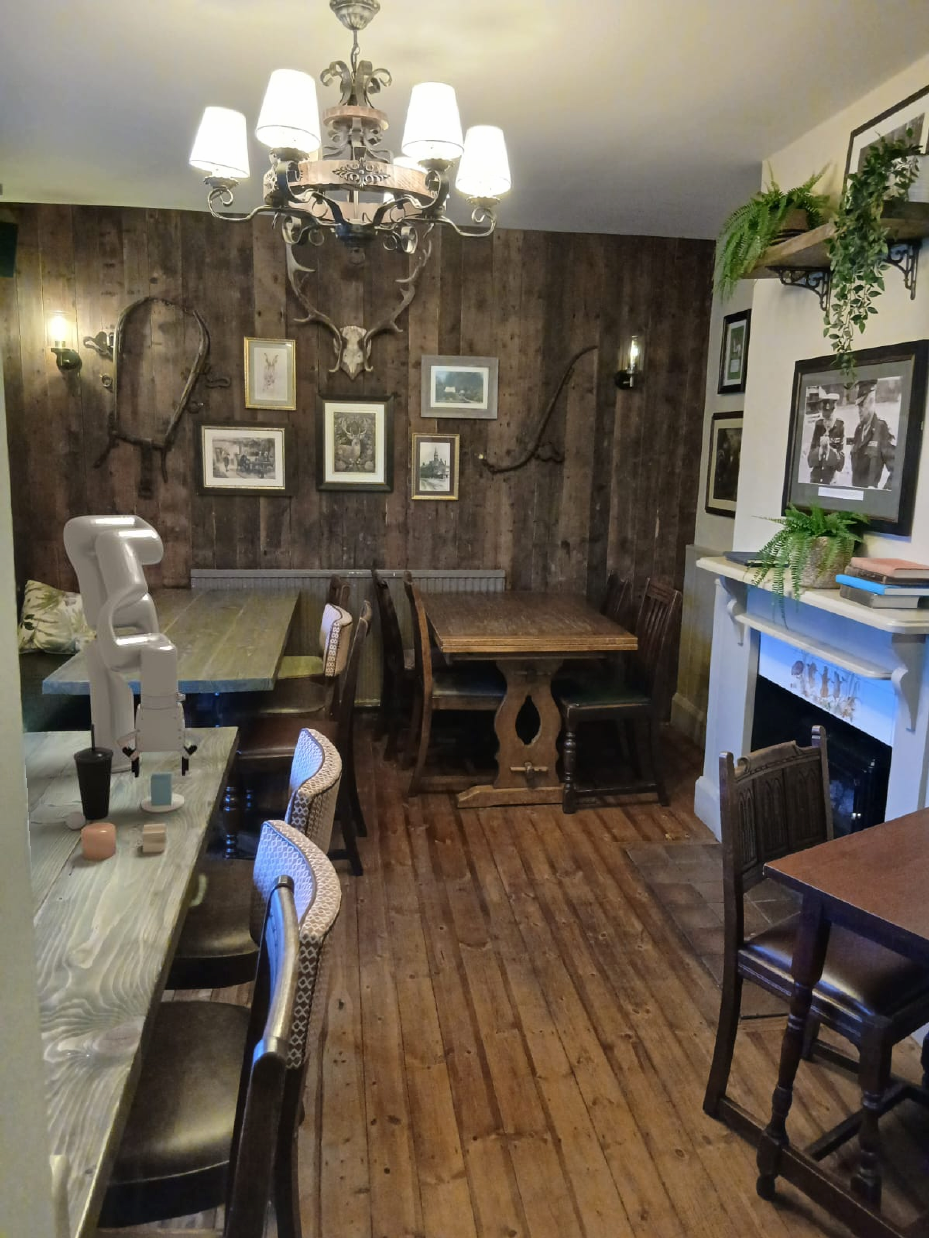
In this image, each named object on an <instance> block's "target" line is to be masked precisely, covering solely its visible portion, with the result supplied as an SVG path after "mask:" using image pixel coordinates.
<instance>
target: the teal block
mask: <svg viewBox="0 0 929 1238" xmlns="http://www.w3.org/2000/svg"><path fill="white" fill-rule="evenodd" d="M172 773H173V772H172V771H165V772H163V771H162V772H152V773H151V777H150V796H151V806H163V805H171V802H172V793H173V780H172V778H173V775H172Z"/></svg>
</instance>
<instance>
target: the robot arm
mask: <svg viewBox="0 0 929 1238" xmlns="http://www.w3.org/2000/svg"><path fill="white" fill-rule="evenodd" d="M63 544H64V548H65V549H64V550H65V551H66V554H67V557H68V559H69V561H70V563H71V565H72V567H73V569H74V571H75V573H76V576H77V580H78V588H79V593H80V598H81V604H82V610H83V615H84V620H85V623H86V625H87V627H88V629H90V630H91V631H94V632H96V638H94V639H92V640H90V641H89V642H88V643H87V644H86V646H85V647H84V651H83V655H84V656H83V657H84V662H85V668H86V672H87V677H88V682H89V683H88V685H89V696H90V698H89V699H90V711H91V713H90V714H91V724H94V734H95V747H103V748H107V749H110V750H112V751H113V753H114V755H113V757H112V766H111V774H112V773H119V772H126V771H129V770H131V773H132V774H134V778H135V779H138V778H139V775H140V772H141V771H140V765H141V764H142V763H143V756H142V754H141V753H162V752H163V753H165V752H170V753H171V752H179V754H180V755H181V776H182V777H186V773H187V772H188V771H190V757H191V756H192V755H193V754H194V753H195V752H197V750H198V748H199V746H200V744H201V743H202V742H203V737H202V735H200V734H197V733H195V732H193V731H190V730H188V729H186V727H185V726H186V725H185V723H186V721H185V713H184V708H183V704H182V701H186V693H180V692H179V660H178V659H179V656H178V653H179V651H178V648H177V646H176V644H174V643H172V642H171V640H170V639H169V638H168V637H167V635H165V634H163V633H160V629H159V623H158V616H157V610H156V606H155V603H154V601H153V597H152V596H151V595H150V593H148V592H149V588H148V583H147V580H146V578H145V573H144V570H143V565H144V566H145V565H146V566H147V565H156V564H158V563H160V562H161V560H162V559H163V557H164V556H163V555H164V545H163V541H162V539H161V536H160V535H159V533H158V531H157V529H155V528H154V527H153V526H152V525H151V524H150V523H148V522H147V521H145V520H144V519H143V518H141V517H139V516H137V515H135V514H134V515H133V514H118V515H117V514H112V515H110V514H109V515H108V514H107V515H103V514H102V515H101V514H100V515H84V516H83V515H82V516H77V517H74V518H71V519H69V520H68V521H67V522H66V523H65V525H64V527H63ZM129 629H132V630H133V631H134V633H127V634H116V633H115V631H119V630H129ZM139 673H140V703H139V704H137V708H136V714H135V708H134V705H135V703H134V702H135V701H134V693H133V692H134V691H133V689H132V688H131V686H130V685H129V683H127V682H126V681H125V680H123V678H122V677H123V676H125V675H126V676H127V675H131V674H133V675H134V674H139ZM186 739H189V740H192V741H193V743H192V744H190V746H189V747H187V745H186V744H185V743H186Z"/></svg>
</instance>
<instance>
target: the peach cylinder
mask: <svg viewBox="0 0 929 1238" xmlns="http://www.w3.org/2000/svg"><path fill="white" fill-rule="evenodd" d="M116 838H117V837H116V825H114V824H112V823H110V822H95V823H91V824H88V825H86V826H84V827H83V828H81V830H80V839H81V840H80V842H81V857H82V858H83V859H84V860H86V861H91V862H95V861H96V862H97V861H103V860H107V859H110V858H112V857H113V856H115V855H116V853H117V841H116V840H117V839H116Z"/></svg>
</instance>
